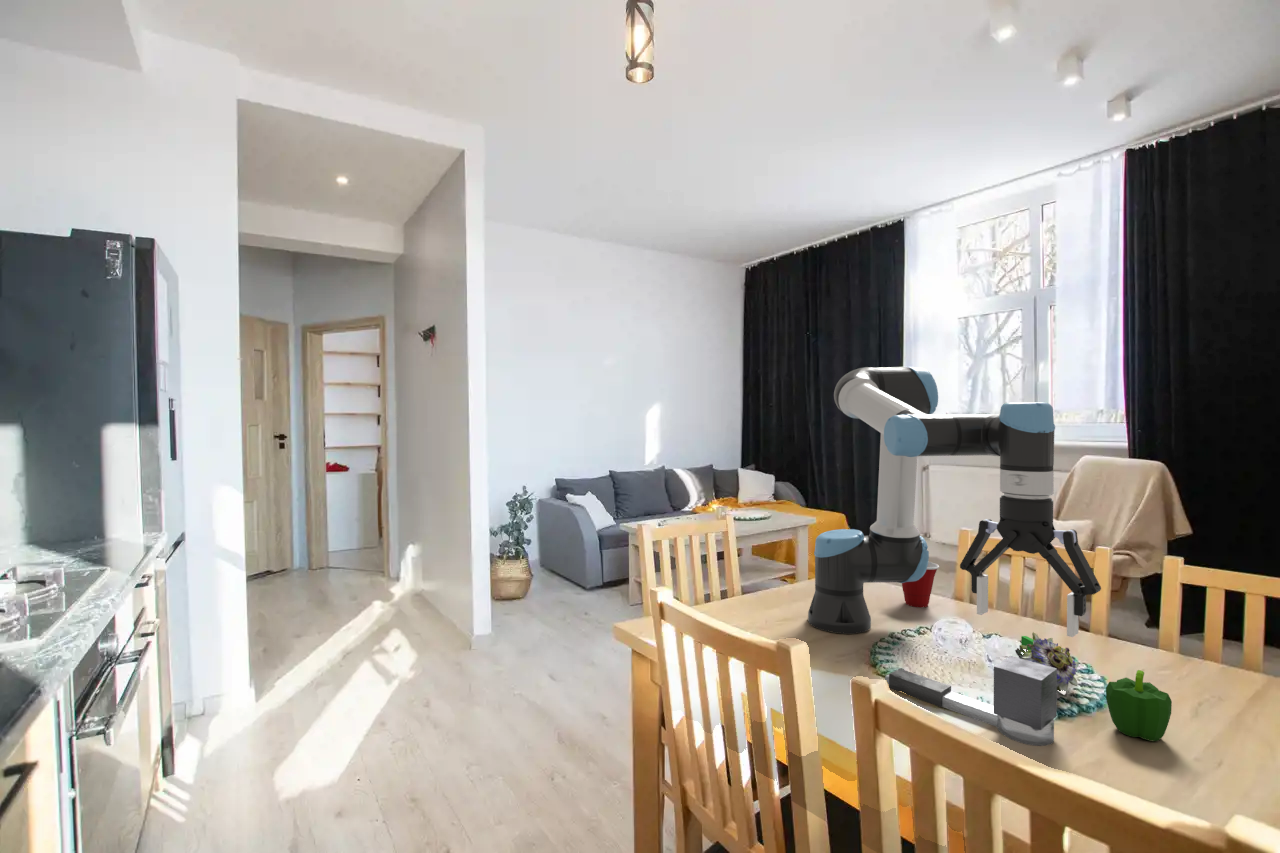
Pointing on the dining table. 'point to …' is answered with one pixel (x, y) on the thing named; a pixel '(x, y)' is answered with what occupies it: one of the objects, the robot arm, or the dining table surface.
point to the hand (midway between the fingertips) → (1025, 623)
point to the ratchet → (967, 707)
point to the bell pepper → (1138, 707)
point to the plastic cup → (920, 588)
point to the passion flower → (1051, 659)
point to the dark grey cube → (1025, 692)
